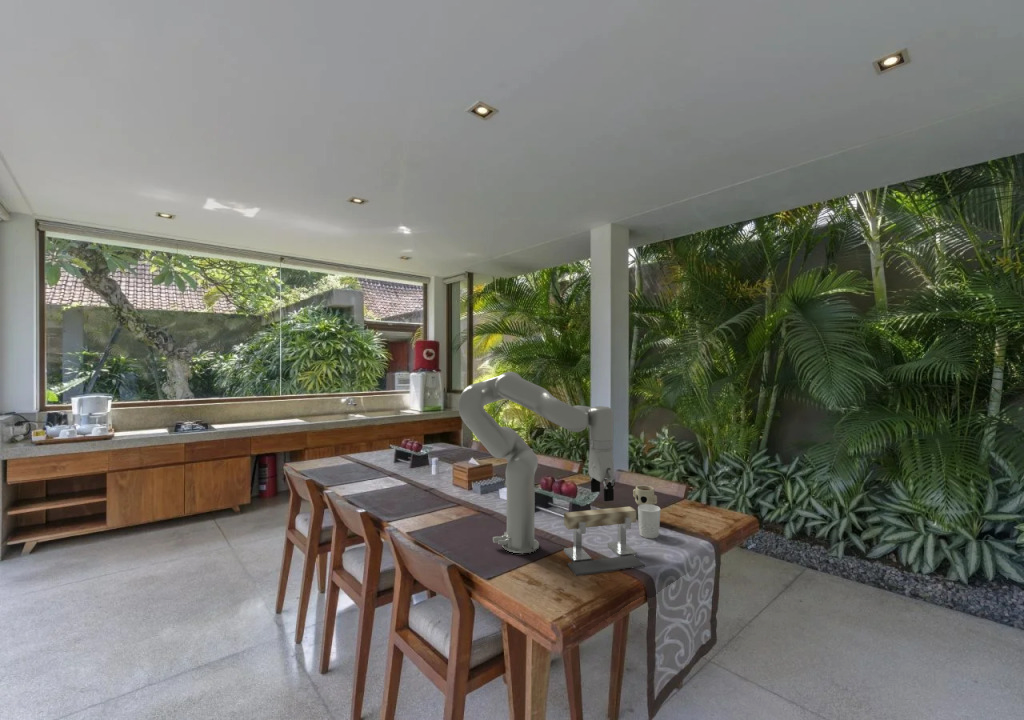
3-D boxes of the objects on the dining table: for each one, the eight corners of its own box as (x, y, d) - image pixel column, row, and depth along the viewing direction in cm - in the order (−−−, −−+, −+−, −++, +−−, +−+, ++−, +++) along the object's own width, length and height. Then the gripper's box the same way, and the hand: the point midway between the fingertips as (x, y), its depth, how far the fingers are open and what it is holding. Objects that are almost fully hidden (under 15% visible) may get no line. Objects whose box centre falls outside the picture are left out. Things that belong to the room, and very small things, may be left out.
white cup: (648, 541, 164) (648, 512, 164) (633, 533, 171) (633, 506, 171) (664, 536, 168) (665, 509, 168) (649, 529, 175) (649, 502, 175)
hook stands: (574, 563, 147) (574, 524, 147) (563, 551, 156) (563, 514, 155) (636, 555, 153) (637, 517, 152) (623, 544, 162) (623, 508, 161)
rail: (568, 529, 149) (568, 517, 149) (563, 524, 153) (563, 512, 153) (635, 522, 155) (636, 510, 155) (629, 518, 159) (629, 506, 159)
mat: (576, 575, 139) (576, 573, 139) (567, 565, 146) (567, 563, 146) (644, 566, 145) (644, 564, 145) (633, 556, 152) (633, 554, 152)
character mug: (627, 518, 186) (627, 486, 186) (638, 514, 190) (638, 482, 190) (650, 526, 177) (651, 492, 177) (661, 522, 182) (662, 489, 181)
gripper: (580, 440, 161) (580, 489, 161) (602, 450, 144) (603, 505, 144) (600, 438, 163) (600, 487, 163) (624, 449, 146) (625, 503, 146)
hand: (601, 496), depth 154 cm, fingers open, 9 cm apart
